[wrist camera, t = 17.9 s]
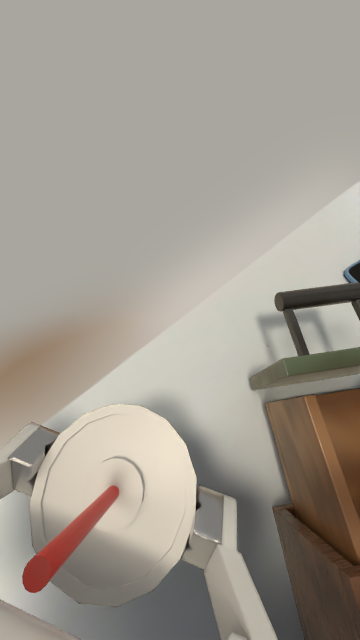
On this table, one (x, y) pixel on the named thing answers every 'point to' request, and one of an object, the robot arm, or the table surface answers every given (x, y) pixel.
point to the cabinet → (319, 581)
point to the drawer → (319, 427)
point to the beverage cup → (111, 507)
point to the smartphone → (353, 272)
